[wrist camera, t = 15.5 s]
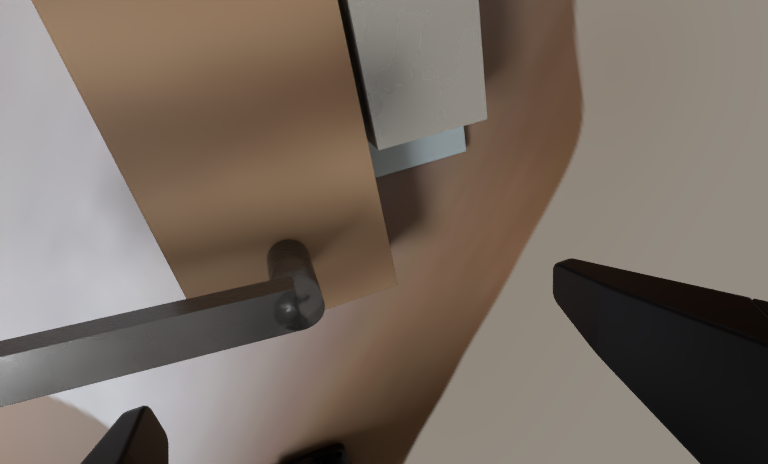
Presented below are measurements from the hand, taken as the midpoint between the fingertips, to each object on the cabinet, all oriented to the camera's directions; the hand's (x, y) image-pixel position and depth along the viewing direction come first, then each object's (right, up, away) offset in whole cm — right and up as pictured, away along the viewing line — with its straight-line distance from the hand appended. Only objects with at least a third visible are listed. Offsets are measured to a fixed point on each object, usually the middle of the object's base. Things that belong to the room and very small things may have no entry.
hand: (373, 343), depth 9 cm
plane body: (-5, +7, +8) cm, 12 cm away
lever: (-8, 0, +6) cm, 10 cm away
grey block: (+1, +10, +8) cm, 12 cm away
